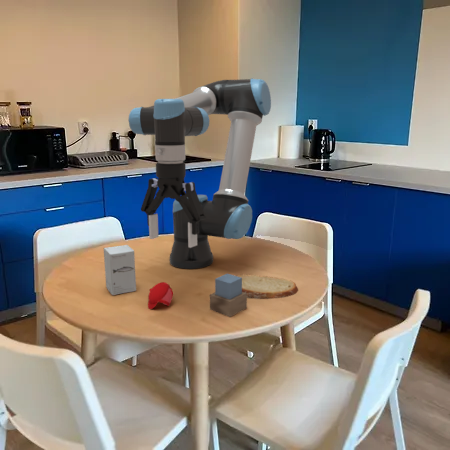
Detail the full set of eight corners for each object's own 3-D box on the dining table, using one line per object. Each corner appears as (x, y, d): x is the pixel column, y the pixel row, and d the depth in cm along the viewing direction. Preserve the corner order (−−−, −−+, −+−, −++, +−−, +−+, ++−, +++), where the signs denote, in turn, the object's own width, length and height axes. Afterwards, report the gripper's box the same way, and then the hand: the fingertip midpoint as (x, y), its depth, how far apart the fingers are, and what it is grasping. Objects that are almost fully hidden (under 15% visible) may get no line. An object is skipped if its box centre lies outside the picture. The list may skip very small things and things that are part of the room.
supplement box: (112, 296, 130) (108, 254, 127) (105, 287, 137) (102, 247, 133) (137, 291, 133) (134, 250, 130) (129, 283, 140) (127, 243, 137)
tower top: (215, 294, 120) (215, 278, 119) (227, 288, 124) (227, 273, 123) (230, 299, 117) (230, 283, 116) (241, 293, 121) (241, 277, 120)
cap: (162, 285, 129) (146, 279, 125) (177, 284, 125) (160, 277, 121) (158, 313, 126) (141, 308, 122) (172, 312, 122) (155, 307, 118)
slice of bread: (303, 291, 134) (304, 279, 133) (260, 309, 122) (260, 296, 122) (260, 275, 147) (260, 264, 146) (217, 289, 136) (217, 277, 135)
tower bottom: (209, 310, 121) (209, 294, 120) (226, 301, 127) (226, 286, 125) (230, 317, 117) (230, 301, 116) (246, 308, 122) (246, 293, 121)
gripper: (125, 159, 119) (129, 237, 125) (200, 166, 106) (201, 253, 111) (145, 157, 125) (148, 231, 131) (219, 163, 112) (219, 246, 117)
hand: (172, 242), depth 121 cm, fingers open, 13 cm apart
